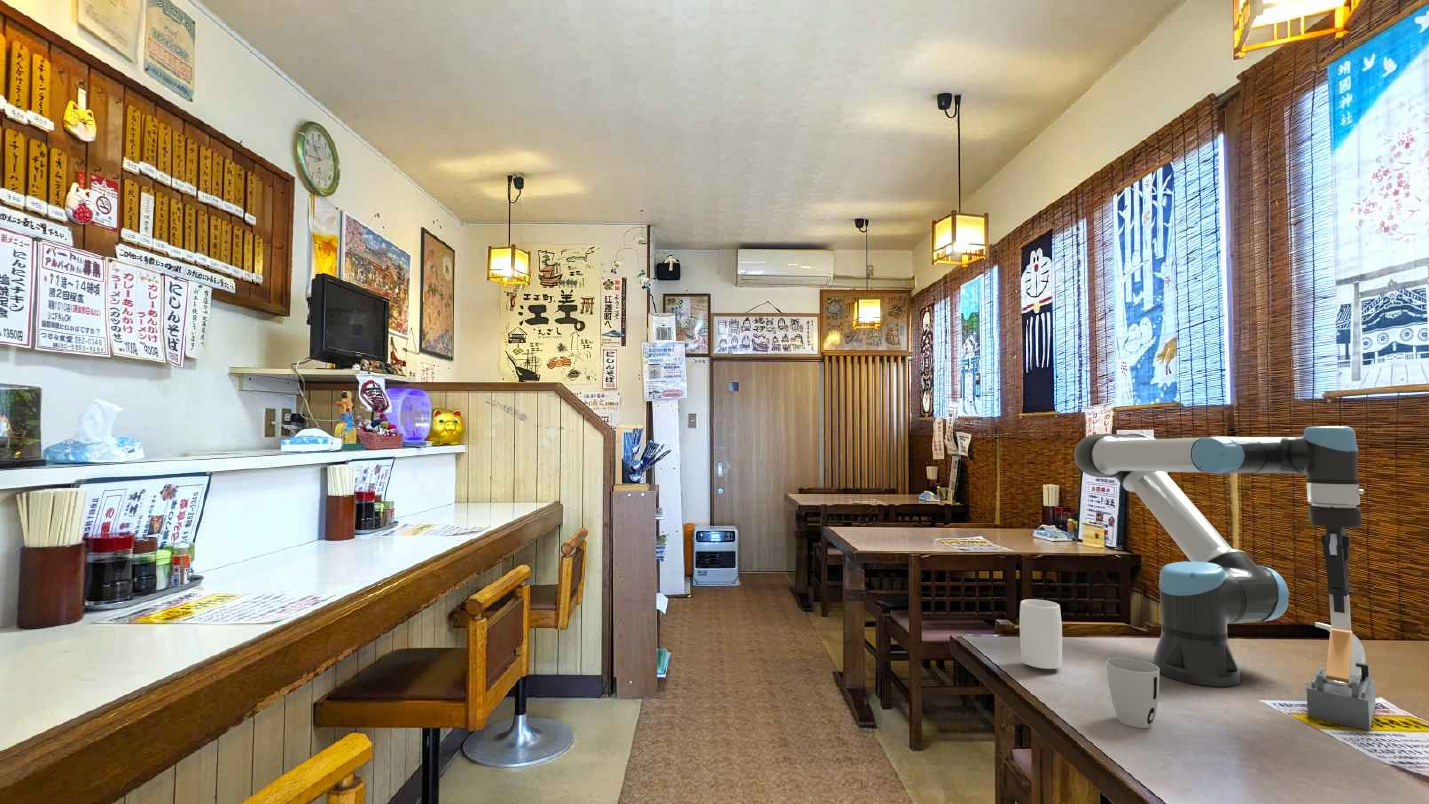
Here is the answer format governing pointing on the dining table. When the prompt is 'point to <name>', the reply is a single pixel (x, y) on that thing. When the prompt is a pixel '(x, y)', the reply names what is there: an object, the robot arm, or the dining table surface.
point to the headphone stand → (1356, 651)
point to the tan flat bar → (1339, 655)
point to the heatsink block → (1342, 699)
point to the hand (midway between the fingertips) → (1341, 628)
